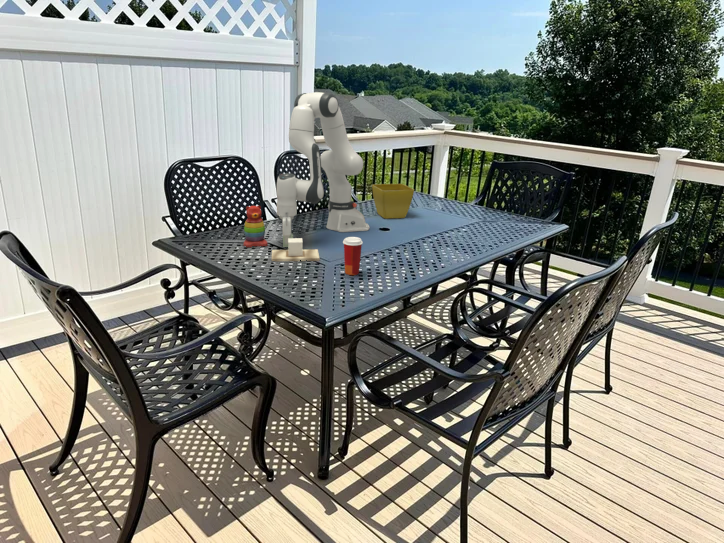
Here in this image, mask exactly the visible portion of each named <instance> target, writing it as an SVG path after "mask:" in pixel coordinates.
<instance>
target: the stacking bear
mask: <svg viewBox="0 0 724 543" xmlns="http://www.w3.org/2000/svg"><path fill="white" fill-rule="evenodd" d="M261 208H262V206H261V205H251V206H250V205H249V206H246V207H245V210H246V211H245V212H246V213H245V214H246V216H247V218H246V220H245V222H244V226H243V230H244V232H243V233H244V237H245V240H244V241H243V244H242V245H243V247H244V246H246V247H245V248H252V246H254V247H260V246H262V247H263V246H265V247H267V246H269V245H268V241H267V240H266V239H265V235H266V227H265V222H264V221H263V218H262V210H261ZM263 248H264V247H263Z"/></svg>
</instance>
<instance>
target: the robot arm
mask: <svg viewBox="0 0 724 543" xmlns="http://www.w3.org/2000/svg"><path fill="white" fill-rule="evenodd" d="M293 105H294V106H293V109H292V111H291V116H290V119H289V120H290V121H289V128H288V142H289V145H290V146H291V147H292V148H293V149H294V150H295V151H297V152H298V153H300V154H302V155H303V156H305V158H307V159H308V162H309V174H310V176H309V178H310V179H308V180H307V179H302V178H297V177H296V175H295V174H294V173H291V172H286V173H281V174H279V175H278V176H277V180H276V193H275V194H276V198H277V200H276V215H277V216H279V219H280V220H282V222H281V223H282V237H283V236H284V237H285V244H288V238H289V236H291V233H292V220H293V219H294V218H295V216H297V207H298V206H297V201H298V202H306V203H309V204H313V205H316V204H318V203H319V202H320V201H321V200H322V199H323V197H324V194H325V189H324V184H323V174H322V169H323V170H324V172H325V175H326V177H327V181H328V185H329V186H328V187H329V199H328V218H327V223H326V225H325V228H327V229H328V230H330V231H331V230H332V231H335V232H339V233H349V232H351V233H352V232H366V231H369V230H370V225H369V224H368V222H367V223H366V219H365V215H364V214H363V213H362V212H360V211H359V210H358V209H357V205H358V204H357V203H356V202H354V201H353V200H352V185H351V183H350V182H349V181H348V179H347V177H346V176H357V175H359V174H361V172H362V170H363V167H364V159H363V158H362V157H361V155H359V154H358V152H356V151H355V149H354V147H353V146H352V144H351V142H350V140H349V138H348V134H347V129H346V125H345V121H344V118H343V113H342V111H341V108H340V105H339V101H338V98H337V97H336V96H335V94H333V93H330V92H321V91H320V92H319V91H314V92H307V93H306V92H303V93H301V94H298V95H297V96H296V98H295V100H294V104H293ZM318 118H319V120H320V126H321V130H322V134H323V139H324V142H325V145H326V146H328V147H329V150H328V149H327V150H325V151H323V152H322V153H321V151H320V147H319V145H318V144H317V143H316V140H315V137H314V136H315V120H316V119H318Z"/></svg>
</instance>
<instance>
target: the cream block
mask: <svg viewBox="0 0 724 543" xmlns="http://www.w3.org/2000/svg"><path fill="white" fill-rule="evenodd" d="M303 243H304V242H303V238H302V237H301V238H299V237H298V238H297V237H295V238H294V237H293V238H288V248H287V250H288V256H303V250H304V249H303Z"/></svg>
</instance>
